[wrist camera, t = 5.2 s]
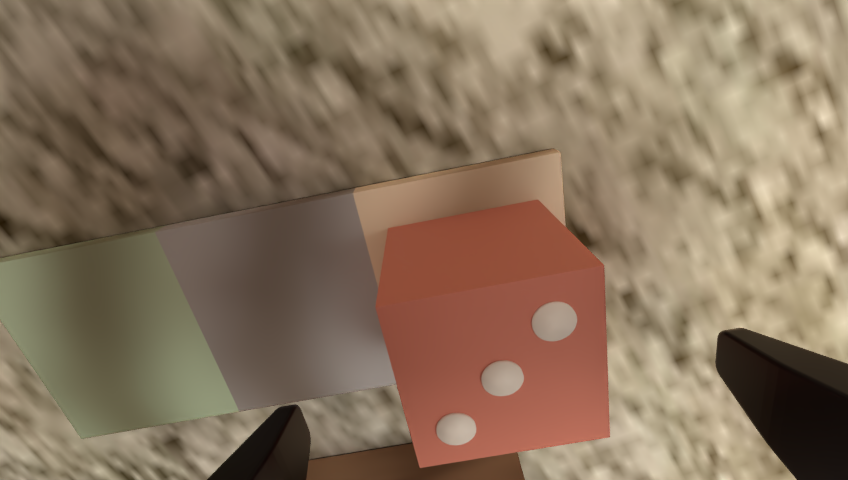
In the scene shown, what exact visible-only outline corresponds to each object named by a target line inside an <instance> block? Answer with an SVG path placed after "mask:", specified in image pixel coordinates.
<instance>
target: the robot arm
mask: <svg viewBox="0 0 848 480" xmlns="http://www.w3.org/2000/svg"><path fill="white" fill-rule="evenodd" d="M715 362H716V368H717V371H718V373H719V375H720V377H721V378H722V379H723V381H724V382H725V384H726V385H727V387H728V388H729V390H730V391H731V393H732V394H733V395H734V397H735V398H736V400H737V401H738V403H739V404H740V406H741V407H742V408H743V410H744V411H745V413H746V414H747V416H748V417H749V419H750V420H751V422H752V423H753V424H754V426H755V427H756V429H757V430H758V432H759V433H760V434H761V436H762V437H763V438H764V440H765V441H766V443H767V444H768V445H769V446H770V448H771V449H772V450H773V451H774V453H775V454H776V455H777V456H778V457H779V459H780V460H781V461H782V462H783V463H784V465H785V466H786V467H787V468H788V469H789V471H790V472H791V473H792V474H793V475H794V477H795V478H796V479H797V480H848V364H847V363H844V362H841V361H838V360H835V359H832V358H829V357H826V356H823V355H820V354H817V353H814V352H812V351H809V350H806V349H803V348H800V347H797V346H794V345H791V344H788V343H785V342H782V341H779V340H776V339H773V338H771V337H768V336H765V335H762V334H759V333H756V332H753V331H750V330H747V329H744V328H736V329H730V330H724V331H722V332H720V333H719V335H718V339H717V350H716V361H715ZM310 444H311V437H310V432H309V429H308V426H307V424H306V421H305V419H304V416H303V414H302V411H301V409H300V407H299V406H298V405H288V406H283V407H279V408H278V409H276V410H275V411H274V412H273V413H272V414H271V415H270V416H269V417H268V418H267V419H266V420H265V421H264V422H263V424H262V425H261V426H260V427H259V428H258V429H257V430H256V431H255V432H254V433H253V434H252V435H251V436H250V437H249V438H248V439H247V440H246V441H245V442H244V443H243V444H242V445H241V446H240V447H239V448H238V449H237V450H236V451H235V452H234V453H233V454H232V455H231V456H230V457H229V458H228V459H227V460H226V461H225V462H224V463H223V464H222V465H221V466H220V467H219V468H218V469H217V470H216V471H215V472H214V473H213V474H212V475H211V476H210V477H209V478H208V479H207V480H306V479H307V471H308V462H309V453H310Z"/></svg>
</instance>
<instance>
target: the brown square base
mask: <svg viewBox="0 0 848 480" xmlns="http://www.w3.org/2000/svg"><path fill="white" fill-rule="evenodd" d="M306 480H525V479H524V475H523V472H522V468H521V464H520V461H519V457H518V454H517V452H515V453H509V454H503V455H497V456H491V457H485V458H478V459H472V460H466V461H460V462H454V463H448V464H442V465H436V466H429V467H423V468H420V467H419V464H418V460H417V456H416V453H415V449H414V446H413V443H411V444H405V445H399V446H393V447H387V448H381V449H375V450H369V451H363V452H357V453H351V454H345V455H339V456H333V457H327V458H321V459H315V460H309V462H308V471H307V479H306Z"/></svg>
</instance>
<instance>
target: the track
mask: <svg viewBox="0 0 848 480" xmlns="http://www.w3.org/2000/svg"><path fill="white" fill-rule="evenodd" d="M537 199H538V200H539V201H540V202H541V203H542V204H543V205H544V206H545V207H546V208H547V209H548V210H549V211H550V212H551V213H552V214H553V215H554V216H555V217H556V218H557V219H558V220H559V221H560V222H561V223H562V224H563V225H564V226H565V227H566V223H565V209H564V194H563V180H562V165H561V152H559V151H557V150H555V149H549V150H544V151H539V152H534V153H529V154H524V155H519V156H514V157H509V158H504V159H499V160H494V161H489V162H484V163H479V164H474V165H469V166H463V167H458V168H453V169H448V170H443V171H438V172H433V173H428V174H423V175H418V176H413V177H408V178H403V179H398V180H393V181H388V182H383V183H378V184H372V185H367V186H362V187H357V188H352V189H347V190H342V191H337V192H332V193H327V194H322V195H317V196H312V197H307V198H302V199H297V200H292V201H287V202H281V203H276V204H271V205H266V206H261V207H256V208H251V209H246V210H241V211H236V212H231V213H226V214H221V215H216V216H211V217H206V218H201V219H195V220H190V221H185V222H180V223H175V224H170V225H165V226H160V227H155V228H150V229H145V230H140V231H135V232H130V233H125V234H120V235H115V236H110V237H104V238H99V239H94V240H89V241H84V242H79V243H74V244H69V245H64V246H59V247H54V248H49V249H44V250H39V251H34V252H29V253H24V254H19V255H13V256H8V257H3V258H0V320H1V322H2V323H3V325H4V326H5V328H6V329H7V330H8V332H9V333H10V335H11V336H12V338H13V339H14V341H15V342H16V344H17V345H18V347H19V348H20V350H21V351H22V353H23V354H24V355H25V357H26V358H27V360H28V361H29V363H30V364H31V366H32V367H33V369H34V370H35V372H36V373H37V375H38V376H39V377H40V379H41V380H42V382H43V383H44V385H45V386H46V388H47V389H48V391H49V392H50V394H51V395H52V397H53V398H54V399H55V401H56V402H57V404H58V405H59V407H60V408H61V410H62V411H63V413H64V414H65V416H66V417H67V419H68V420H69V421H70V423H71V424H72V426H73V427H74V429H75V430H76V432H77V433H78V435H79V436H80V438H81V439H84V438H90V437H96V436H101V435H107V434H113V433H119V432H124V431H130V430H136V429H142V428H147V427H153V426H159V425H165V424H170V423H176V422H182V421H188V420H194V419H199V418H205V417H211V416H217V415H222V414H228V413H234V412H240V411H245V410H251V409H257V408H263V407H268V406H274V405H280V404H286V403H291V402H297V401H303V400H309V399H315V398H320V397H326V396H332V395H338V394H343V393H349V392H355V391H361V390H366V389H372V388H378V387H384V386H389V385H395V384H396V380H395V377H394V373H393V370H392V366H391V362H390V359H389V355H388V351H387V348H386V344H385V341H384V337H383V333H382V330H381V326H380V323H379V319H378V315H377V312H376V308H375V306H376V299H377V293H378V287H379V281H380V275H381V268H382V262H383V256H384V250H385V243H386V237H387V231H388V228H392V227H397V226H402V225H407V224H412V223H418V222H423V221H428V220H433V219H438V218H444V217H449V216H454V215H459V214H464V213H470V212H475V211H480V210H485V209H490V208H496V207H501V206H506V205H511V204H516V203H522V202H527V201H532V200H537Z"/></svg>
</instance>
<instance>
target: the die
mask: <svg viewBox="0 0 848 480" xmlns="http://www.w3.org/2000/svg"><path fill="white" fill-rule="evenodd" d="M375 308H376V312H377V315H378V319H379V323H380V326H381V330H382V333H383V337H384V341H385V344H386V348H387V351H388V355H389V359H390V362H391V366H392V370H393V373H394V377H395V380H396V384H397V388H398V391H399V395H400V399H401V402H402V406H403V409H404V413H405V417H406V420H407V424H408V427H409V431H410V435H411V438H412V442H413V446H414V449H415V453H416V456H417V460H418V464H419V467H420V468H423V467H429V466H436V465H442V464H448V463H454V462H460V461H466V460H472V459H478V458H485V457H491V456H497V455H503V454H509V453H515V452H521V451H528V450H534V449H540V448H546V447H552V446H558V445H564V444H570V443H577V442H583V441H589V440H595V439H601V438H607V437H610V428H609V397H608V367H607V336H606V306H605V276H604V265H603V264H602V263H601V262H600V261H599V260H598V259H597V258H596V257H595V256H594V255H593V254H592V253H591V252H590V251H589V250H588V249H587V248H586V247H585V246H584V245H583V244H582V243H581V242H580V241H579V240H578V239H577V238H576V237H575V236H574V235H573V234H572V233H571V232H570V231H569V230H568V229H567V228H566V227H565V226H564V225H563V224H562V223H561V222H560V221H559V220H558V219H557V218H556V217H555V216H554V215H553V214H552V213H551V212H550V211H549V210H548V209H547V208H546V207H545V206H544V205H543V204H542V203H541V202H540V201H539V200H538V199H537V200H532V201H527V202H522V203H516V204H511V205H506V206H501V207H496V208H490V209H485V210H480V211H475V212H470V213H464V214H459V215H454V216H449V217H444V218H438V219H433V220H428V221H423V222H418V223H412V224H407V225H402V226H397V227H392V228H388V231H387V237H386V243H385V250H384V256H383V262H382V268H381V275H380V281H379V287H378V293H377V299H376V306H375Z"/></svg>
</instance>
